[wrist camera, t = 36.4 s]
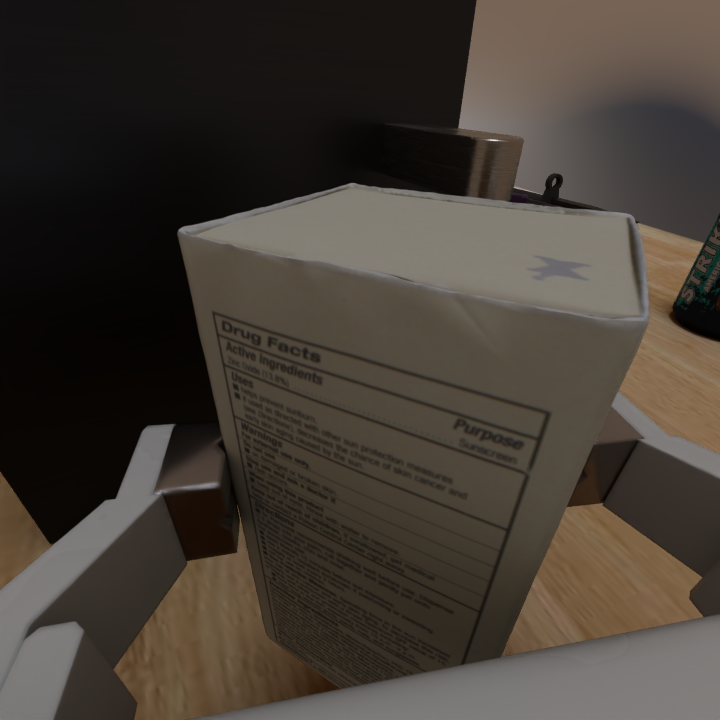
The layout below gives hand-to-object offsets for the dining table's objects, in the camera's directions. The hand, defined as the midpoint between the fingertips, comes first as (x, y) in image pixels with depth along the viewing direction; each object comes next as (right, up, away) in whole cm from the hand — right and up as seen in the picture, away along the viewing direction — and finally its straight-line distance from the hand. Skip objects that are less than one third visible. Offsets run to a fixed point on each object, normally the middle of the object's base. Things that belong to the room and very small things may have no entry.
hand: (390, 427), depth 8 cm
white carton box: (0, -5, +2) cm, 6 cm away
